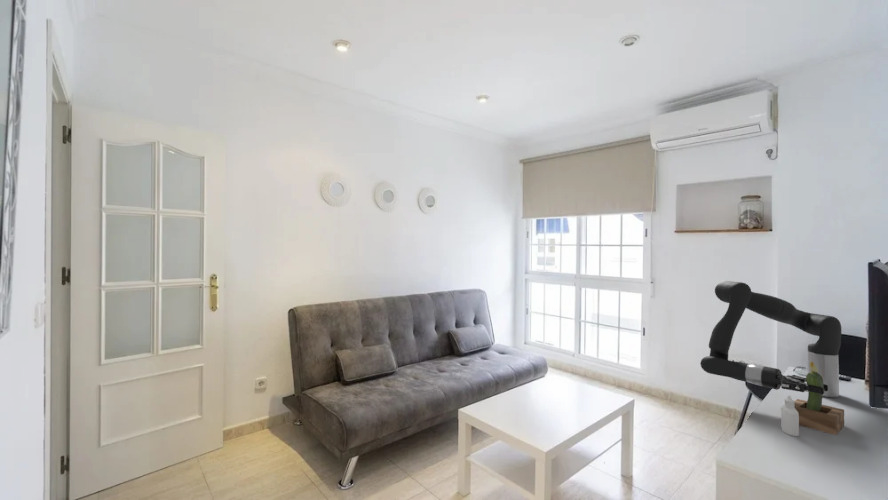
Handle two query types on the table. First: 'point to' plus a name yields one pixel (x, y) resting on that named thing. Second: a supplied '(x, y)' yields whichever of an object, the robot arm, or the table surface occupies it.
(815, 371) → the vegetable
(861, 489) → the table surface
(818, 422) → the socket
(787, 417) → the eye dropper bottle
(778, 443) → the table surface
